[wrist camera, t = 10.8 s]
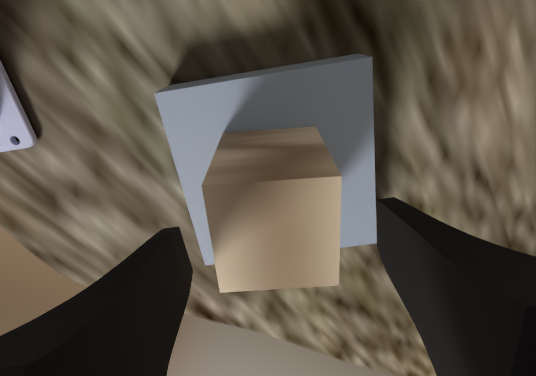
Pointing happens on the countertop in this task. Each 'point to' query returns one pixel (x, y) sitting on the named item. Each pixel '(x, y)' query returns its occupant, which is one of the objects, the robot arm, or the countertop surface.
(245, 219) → the maple cube
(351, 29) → the countertop surface
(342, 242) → the slate-blue block
